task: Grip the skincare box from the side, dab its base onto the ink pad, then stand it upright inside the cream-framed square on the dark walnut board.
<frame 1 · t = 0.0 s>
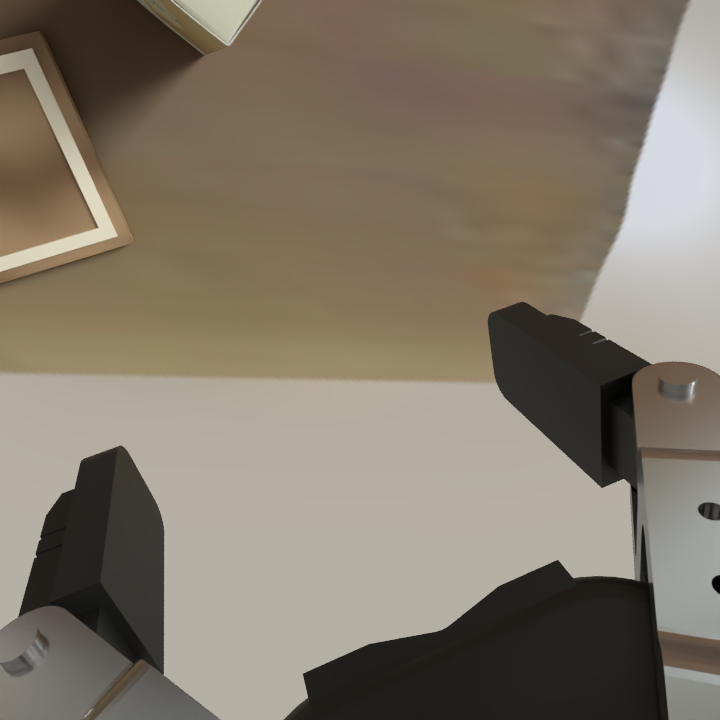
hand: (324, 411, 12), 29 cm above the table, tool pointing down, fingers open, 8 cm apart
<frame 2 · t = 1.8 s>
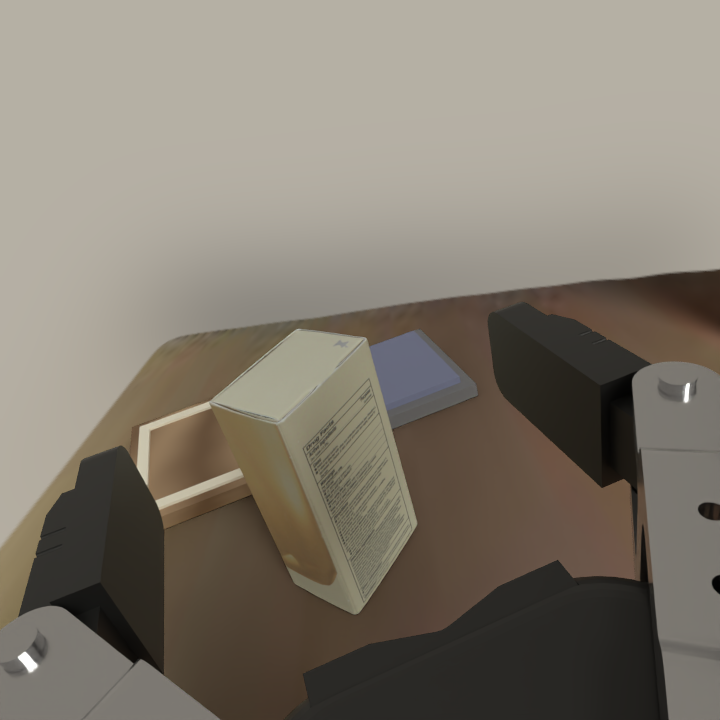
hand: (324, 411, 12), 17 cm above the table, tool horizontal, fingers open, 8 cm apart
marked board: (216, 452, 41), on the table
ink pad: (387, 386, 43), on the table
skincare box: (357, 559, 30), on the table
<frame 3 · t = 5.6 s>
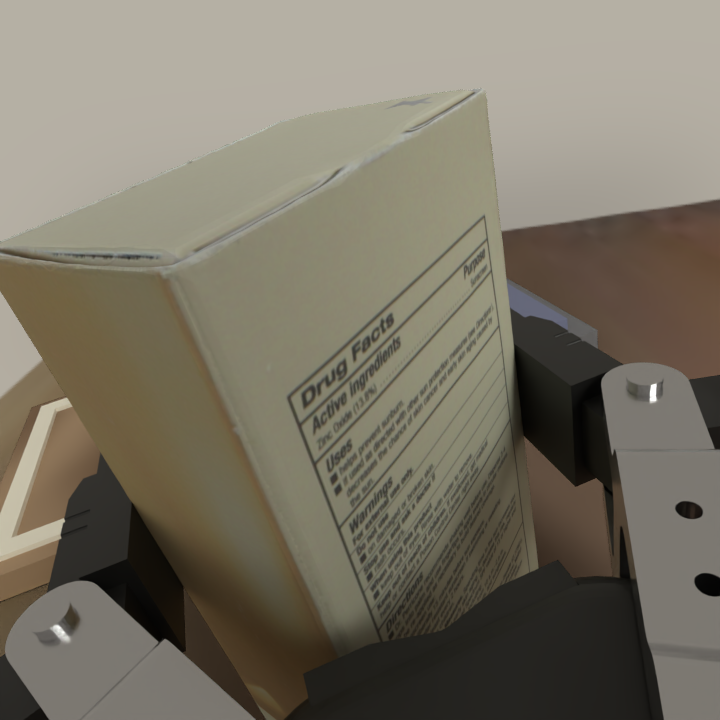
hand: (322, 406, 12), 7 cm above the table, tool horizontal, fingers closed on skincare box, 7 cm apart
marked board: (155, 445, 25), on the table
ink pad: (437, 343, 27), on the table
skincare box: (414, 673, 14), on the table, touching gripper
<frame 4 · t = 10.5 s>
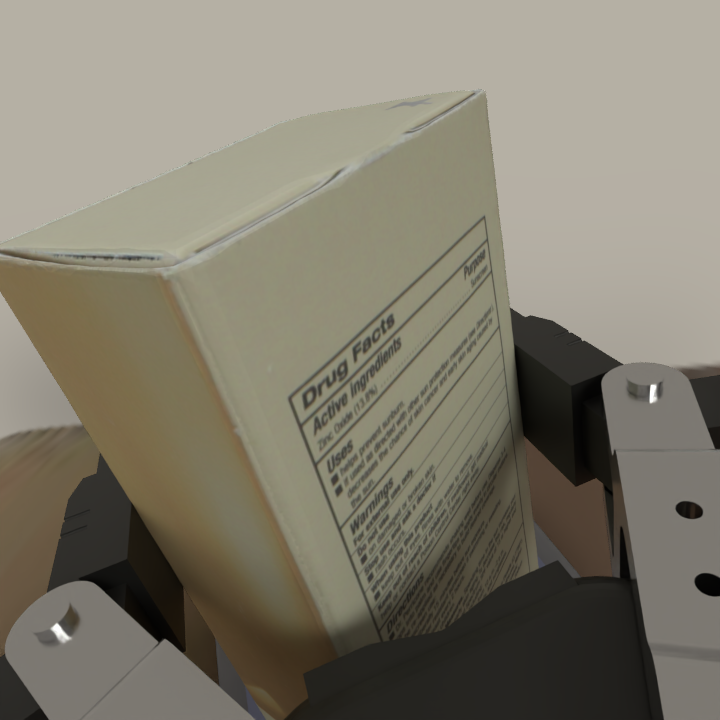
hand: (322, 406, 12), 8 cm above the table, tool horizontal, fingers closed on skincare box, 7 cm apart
ink pad: (427, 696, 14), on the table
skincare box: (414, 674, 14), point 1 cm above the table, touching gripper, ink pad
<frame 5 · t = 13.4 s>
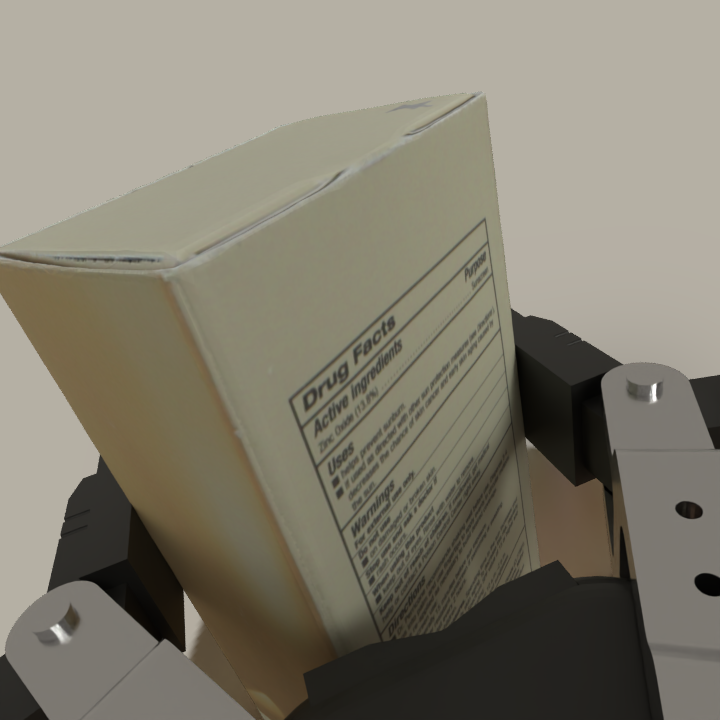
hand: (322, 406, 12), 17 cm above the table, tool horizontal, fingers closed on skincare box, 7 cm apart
skincare box: (416, 678, 14), point 10 cm above the table, touching gripper
when the fingers open (8 cm above the table, at t = 15.6 s): skincare box stays where it is, resting on marked board.
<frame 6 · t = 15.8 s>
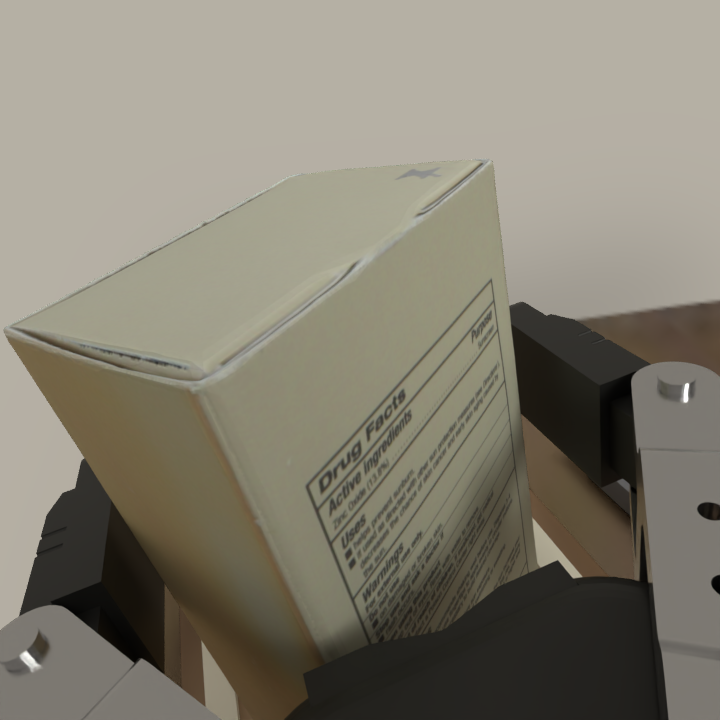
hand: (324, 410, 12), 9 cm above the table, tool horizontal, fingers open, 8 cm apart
marked board: (426, 713, 15), on the table
skincare box: (419, 706, 14), point 1 cm above the table, touching marked board
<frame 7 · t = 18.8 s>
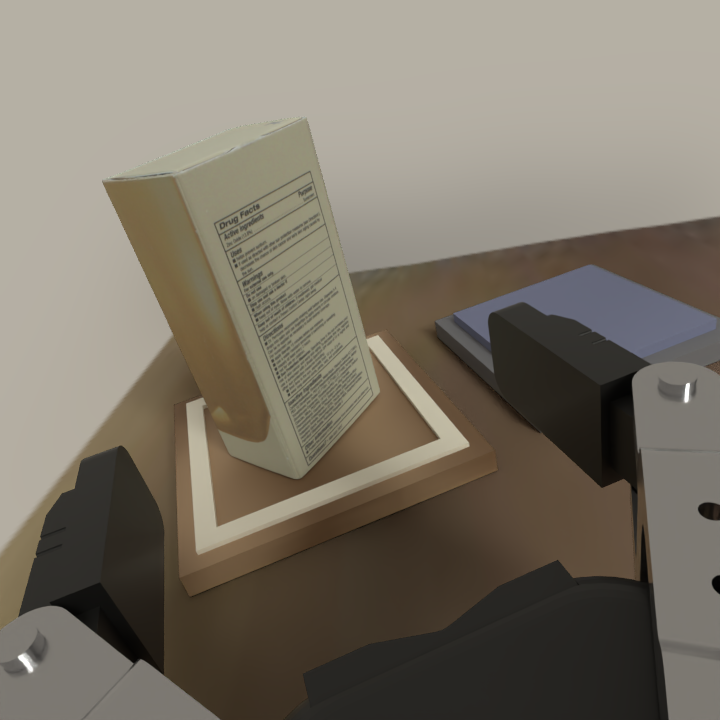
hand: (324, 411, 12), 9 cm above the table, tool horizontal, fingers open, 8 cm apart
marked board: (313, 440, 26), on the table
ink pad: (571, 342, 28), on the table
skincare box: (307, 430, 25), point 1 cm above the table, touching marked board
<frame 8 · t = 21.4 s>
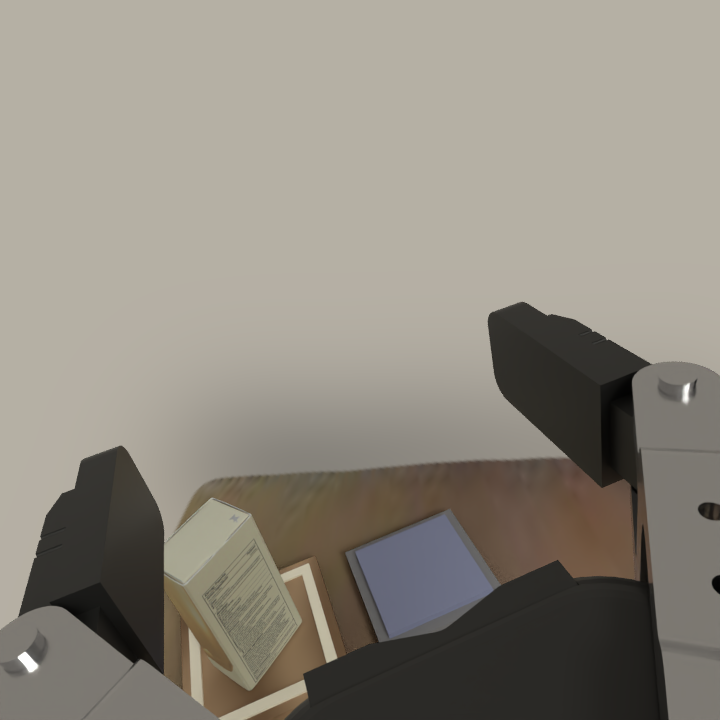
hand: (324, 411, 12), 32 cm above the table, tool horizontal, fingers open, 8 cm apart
marked board: (263, 650, 44), on the table
ink pad: (422, 580, 46), on the table
skincare box: (258, 647, 43), point 1 cm above the table, touching marked board
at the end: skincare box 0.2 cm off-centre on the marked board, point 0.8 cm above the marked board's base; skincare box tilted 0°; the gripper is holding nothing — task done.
